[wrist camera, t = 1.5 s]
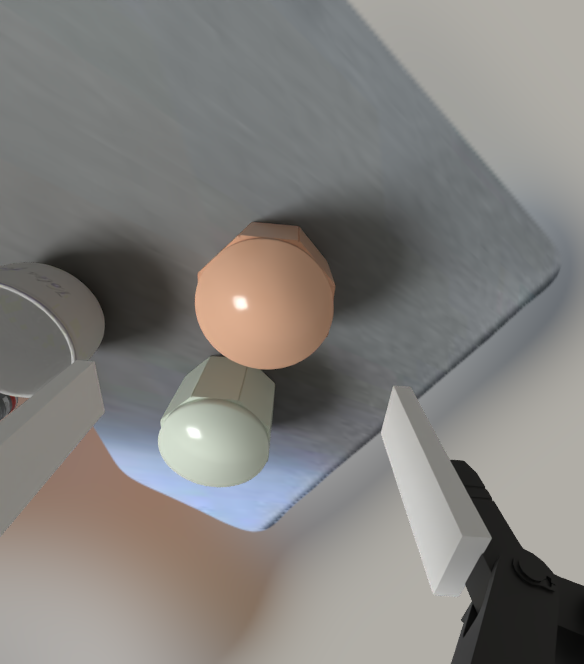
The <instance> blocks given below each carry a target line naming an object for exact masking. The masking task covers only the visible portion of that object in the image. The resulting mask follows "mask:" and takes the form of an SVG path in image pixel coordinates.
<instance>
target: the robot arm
mask: <svg viewBox="0 0 584 664" xmlns="http://www.w3.org/2000/svg"><path fill="white" fill-rule="evenodd" d="M104 412H105V410H104V405H103V400H102V395H101V391H100V386H99V381H98V376H97V372H96V367H95V362H94V361H83V360H76V361H75V362H74V363H72V364H71V365H70V366H69V367H67V368H66V369H65V370H64V371H62V372H61V373H60V374H59V375H58V376H56V377H55V378H54V379H53V380H51V381H50V382H49V383H48V384H46V385H45V386H44V387H43V388H41V389H40V390H39V391H38V392H37V393H35V394H34V395H33V396H32V397H30V398H29V399H28V400H27V401H25V402H24V403H23V404H22V405H21V406H19V407H18V408H17V409H16V410H14V411H13V412H12V413H11V414H10V415H8V416H7V417H6V418H5V419H4V420H2V421H1V422H0V537H1V535H2V534H3V533H4V531H6V529H7V528H8V527H9V526H10V524H12V522H13V521H14V520H15V519H16V517H17V516H18V515H19V514H20V513H21V511H22V510H23V509H24V508H25V507H26V506H27V504H28V503H29V502H30V501H31V499H32V498H33V497H34V496H35V495H36V494H37V492H38V491H39V490H40V489H41V488H42V486H43V485H44V484H45V483H46V482H47V480H48V479H49V478H50V477H51V476H52V474H53V473H54V472H55V471H56V470H57V469H58V467H59V466H60V465H61V464H62V463H63V461H64V460H65V459H66V458H67V457H68V455H69V454H70V453H71V452H72V451H73V449H74V448H75V447H76V446H77V444H78V443H79V442H80V441H81V440H82V439H83V437H84V436H85V435H86V434H87V433H88V431H89V430H90V429H91V428H92V427H93V425H94V424H95V423H96V422H97V421H98V419H99V418H100V417H101V416H102V415H103V413H104ZM381 435H382V439H383V441H384V445H385V448H386V451H387V454H388V457H389V460H390V463H391V466H392V469H393V472H394V476H395V479H396V482H397V485H398V488H399V491H400V494H401V497H402V500H403V503H404V506H405V509H406V512H407V516H408V519H409V522H410V525H411V528H412V531H413V534H414V537H415V540H416V544H417V547H418V550H419V553H420V556H421V559H422V562H423V565H424V568H425V571H426V574H427V577H428V581H429V584H430V587H431V590H432V593H433V595H438V596H454V597H459V596H460V594H461V593H462V591H463V589H464V587H465V585H466V587H467V590H468V592H469V595H470V597H471V600H472V602H471V604H470V606H469V607H468V609H467V611H466V612H465V614H464V616H463V617H462V619H461V621H462V622H463V623H464V624H463V627H462V630H461V634H460V637H459V640H458V643H457V646H456V650H455V653H454V656H453V659H452V662H451V664H584V586H582V585H580V584H577V583H574V582H572V581H569V580H567V579H564V578H561V577H559V576H557V575H555V574H553V572H552V571H551V570H550V569H549V568H548V567H547V566H546V564H545V563H544V562H543V561H542V560H540V559H539V558H538V557H537V556H535V555H534V554H533V553H531V552H529V551H527V550H525V549H523V548H522V546H521V545H520V543H519V542H518V540H517V539H516V537H515V535H514V534H513V532H512V530H511V529H510V527H509V525H508V524H507V522H506V520H505V519H504V517H503V515H502V514H501V512H500V511H499V509H498V507H497V506H496V504H495V502H494V501H492V497H491V496H490V494H489V492H488V491H487V490H486V489H485V486H484V484H483V483H482V481H481V479H480V478H479V476H478V474H477V473H476V472H475V471H474V470H473V469H472V468H471V467H470V466H469V465H468V464H467V463H466V462H465V461H460V460H450V459H449V457H448V456H447V454H446V452H445V450H444V448H443V447H442V445H441V443H440V441H439V439H438V437H437V435H436V434H435V432H434V430H433V428H432V426H431V424H430V422H429V421H428V419H427V417H426V415H425V413H424V411H423V409H422V408H421V406H420V404H419V402H418V400H417V398H416V396H415V394H414V393H413V391H412V389H411V387H404V386H393V389H392V393H391V397H390V400H389V404H388V408H387V412H386V416H385V419H384V423H383V427H382V431H381Z"/></svg>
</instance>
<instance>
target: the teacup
mask: <svg viewBox="0 0 584 664" xmlns="http://www.w3.org/2000/svg"><path fill="white" fill-rule="evenodd" d="M104 330H105V321H104V315H103V311H102V308H101V306H100V304H99V302H98V301H97V299H96V297H95V296H94V295H93V293H92V292H91V291H90V290H89V289H88V288H87V287H86V286H85V285H84V284H83V283H82V282H81V281H80V280H78V279H77V278H76V277H74V276H72V275H71V274H69V273H67V272H65V271H63V270H61V269H59V268H56V267H53V266H50V265H46V264H41V263H34V262H21V263H13V264H8V265H4V266H0V393H2V394H5V395H10V396H15V397H25V398H30V397H32V396H33V395H34V394H35V393H37V392H38V391H39V390H40V389H41V388H43V387H44V386H45V385H46V384H48V383H49V382H50V381H51V380H53V379H54V378H55V377H56V376H58V375H59V374H60V373H61V372H62V371H64V370H65V369H66V368H67V367H69V366H70V365H71V364H72V363H74V362H75V361H76V360H83V361H88V360H89V359H90V358H91V356H92V355H93V354H94V353H95V351H96V350H97V349H98V347H99V345H100V343H101V341H102V339H103V336H104Z"/></svg>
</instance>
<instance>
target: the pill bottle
mask: <svg viewBox="0 0 584 664" xmlns="http://www.w3.org/2000/svg"><path fill="white" fill-rule="evenodd" d="M17 403H18V397H15V396H10V395H5V394H2V393H0V420H1V419H3V418H4V417H5V416H6V415H7V414H9V413H10V412H11V411H12V410H13V409H14V408H15V407H16V406H17Z"/></svg>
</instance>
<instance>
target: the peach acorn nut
mask: <svg viewBox="0 0 584 664" xmlns="http://www.w3.org/2000/svg"><path fill="white" fill-rule="evenodd" d="M334 292H335V283H334V280H333V277H332V274H331V271H330V268H329V265H328V262H327V261H326V259H325V258H324V257H323V256H322V254H321V253H320V252H319V251H318V249H317V248H316V247H315V246H314V244H313V243H312V242H311V241H310V239H309V238H308V237H307V236H306V234H305V233H304V232H303V231H302V229H301V228H300V227H299V228H298V226H293V225H282V224H270V223H259V222H252V223H250V224H249V225H248V226H247V227H246V228H245V229H244V230H243V231H242V232H241V233H239V234H238V235H237V236H236V237H235V238H234V239H233V240H232V241H231V242H230V243H229V244H228V245H227V246H225V247H224V248H223V249H222V250H221V251H220V252H219V253H218V254H217V255H216V256H215V257H214V258H213V259H212V260H211V261H210V262H209V263H208V264H207V265H206V266H205V267H203V268H202V269H201V270H200V271H199V272H198V285H197V288H196V294H195V309H196V315H197V319H198V322H199V325H200V327H201V330H202V331H203V333H204V335H205V337H206V338H207V339H208V341H209V342H210V343H211V344H212V345H213V346H214V348H215V349H216V350H218V351H219V352H220V353H221V354H222V355H224V356H225V357H227V358H228V359H230V360H232V361H234V362H236V363H238V364H241V365H244V366H247V367H251V368H256V369H279V368H284V367H288V366H291V365H294V364H296V363H298V362H300V361H302V360H304V359H305V358H307V357H308V356H310V355H311V354H312V353H313V352H314V351H315V350H316V349H317V348H318V347H319V346H320V345H321V343H322V342H323V341H324V339H325V338H326V337H327V335H328V333H329V329H330V326H331V323H332V319H333V310H334V306H333V299H334Z"/></svg>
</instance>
